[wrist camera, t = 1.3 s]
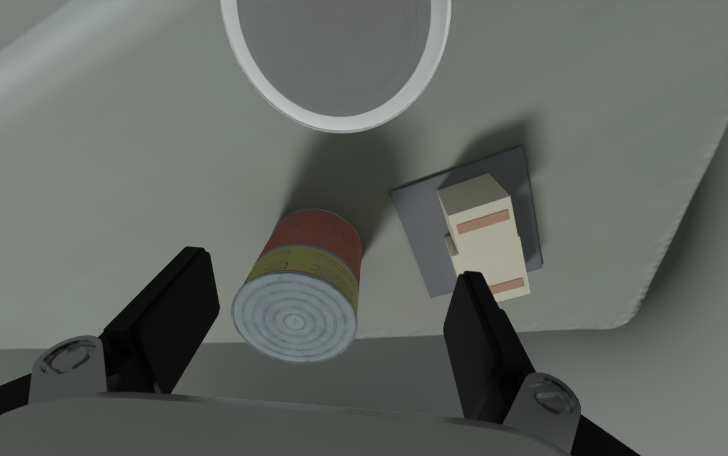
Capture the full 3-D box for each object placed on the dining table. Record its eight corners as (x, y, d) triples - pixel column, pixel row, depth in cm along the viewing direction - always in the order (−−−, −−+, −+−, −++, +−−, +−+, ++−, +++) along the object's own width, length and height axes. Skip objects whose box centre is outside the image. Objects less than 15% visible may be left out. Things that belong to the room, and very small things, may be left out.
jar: (438, 3, 26) (503, -49, 13) (379, 118, 30) (382, 167, 17) (321, -74, 24) (253, -229, 11) (277, 63, 28) (193, 72, 15)
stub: (488, 173, 32) (510, 196, 27) (497, 216, 35) (519, 245, 29) (436, 190, 33) (448, 216, 28) (449, 231, 36) (462, 262, 30)
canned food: (253, 224, 37) (205, 292, 26) (341, 195, 35) (326, 256, 24) (296, 293, 42) (270, 373, 31) (375, 272, 40) (374, 350, 29)
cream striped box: (504, 215, 35) (519, 234, 31) (516, 271, 38) (530, 294, 35) (443, 235, 36) (450, 254, 33) (460, 287, 40) (468, 310, 36)
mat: (521, 145, 31) (523, 146, 31) (540, 265, 38) (542, 268, 38) (390, 191, 34) (390, 193, 34) (430, 295, 41) (430, 298, 41)
